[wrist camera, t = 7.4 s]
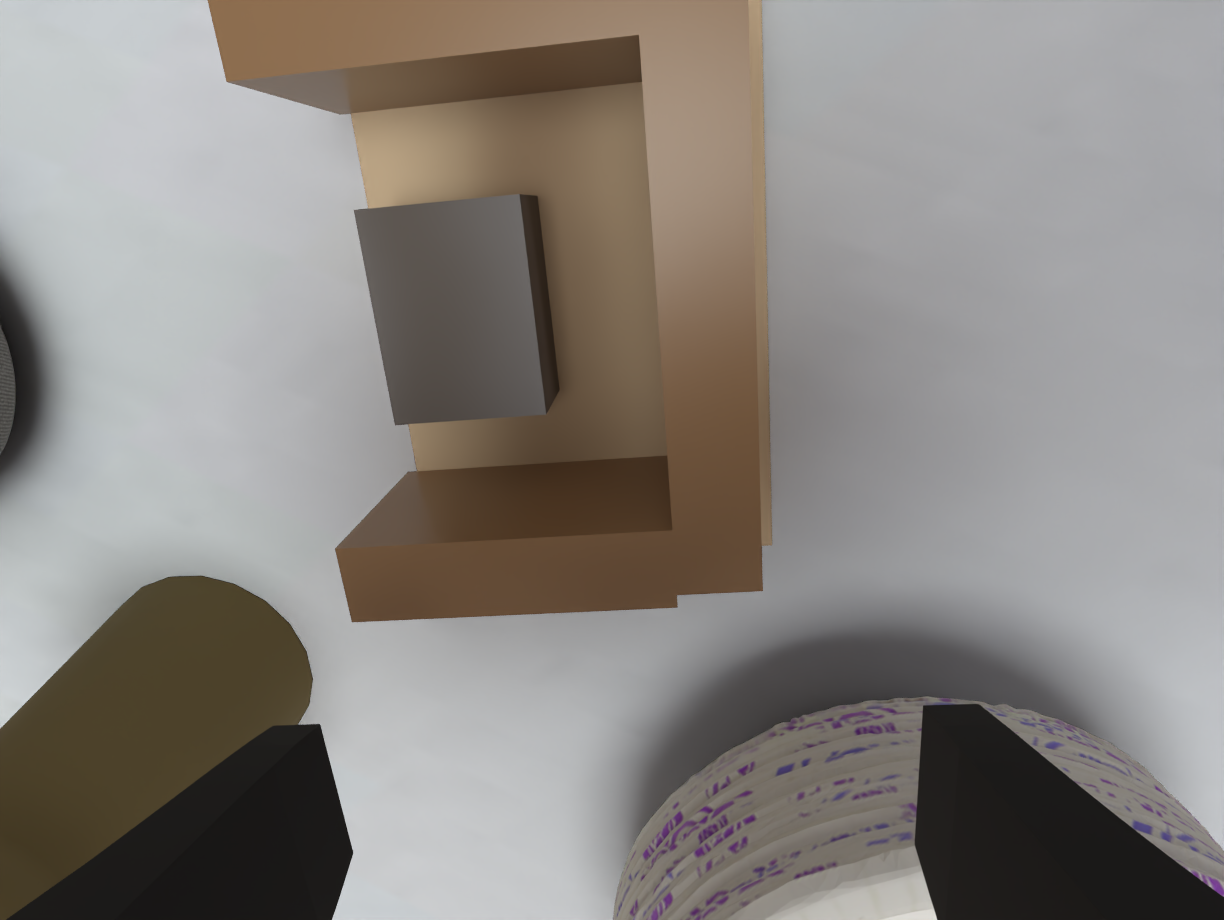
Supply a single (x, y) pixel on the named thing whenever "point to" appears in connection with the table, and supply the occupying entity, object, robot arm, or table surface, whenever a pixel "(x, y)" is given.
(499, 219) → the display stand
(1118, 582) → the table surface
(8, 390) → the smart speaker
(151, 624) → the olive pepper mill
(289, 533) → the table surface
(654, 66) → the wooden c-shaped bracket
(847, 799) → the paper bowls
